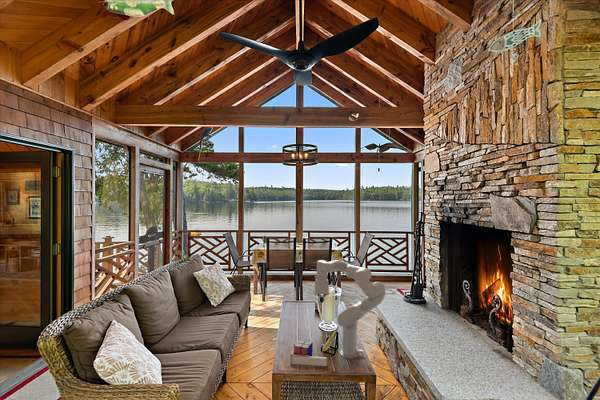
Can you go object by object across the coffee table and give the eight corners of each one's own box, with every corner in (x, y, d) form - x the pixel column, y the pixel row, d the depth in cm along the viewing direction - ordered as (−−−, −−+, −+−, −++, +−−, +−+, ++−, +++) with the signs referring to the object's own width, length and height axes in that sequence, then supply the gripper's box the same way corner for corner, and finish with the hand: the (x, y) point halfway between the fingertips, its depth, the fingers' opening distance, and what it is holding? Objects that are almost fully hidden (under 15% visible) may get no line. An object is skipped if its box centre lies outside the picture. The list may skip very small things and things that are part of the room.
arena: (327, 355, 235) (327, 347, 234) (326, 366, 220) (326, 357, 220) (293, 352, 238) (293, 345, 238) (290, 363, 223) (290, 355, 223)
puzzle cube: (307, 363, 223) (307, 348, 223) (293, 360, 227) (293, 345, 227) (312, 356, 233) (312, 342, 232) (299, 354, 236) (299, 339, 236)
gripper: (311, 278, 244) (311, 303, 245) (331, 279, 242) (331, 304, 243) (312, 275, 252) (312, 300, 252) (332, 276, 250) (332, 301, 250)
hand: (321, 302), depth 247 cm, fingers closed
